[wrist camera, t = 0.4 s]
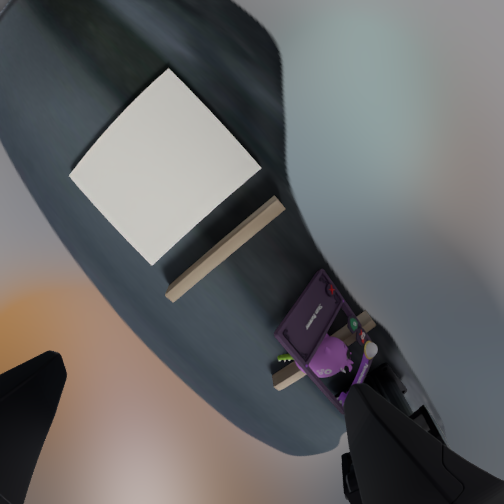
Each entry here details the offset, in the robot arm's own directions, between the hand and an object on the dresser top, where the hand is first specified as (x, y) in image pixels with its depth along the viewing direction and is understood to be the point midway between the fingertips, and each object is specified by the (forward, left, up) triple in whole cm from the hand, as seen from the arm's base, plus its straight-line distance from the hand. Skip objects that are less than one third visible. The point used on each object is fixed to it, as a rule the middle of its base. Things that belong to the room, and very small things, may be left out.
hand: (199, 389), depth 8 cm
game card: (-6, -1, -12) cm, 13 cm away
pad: (+6, 0, -14) cm, 15 cm away
